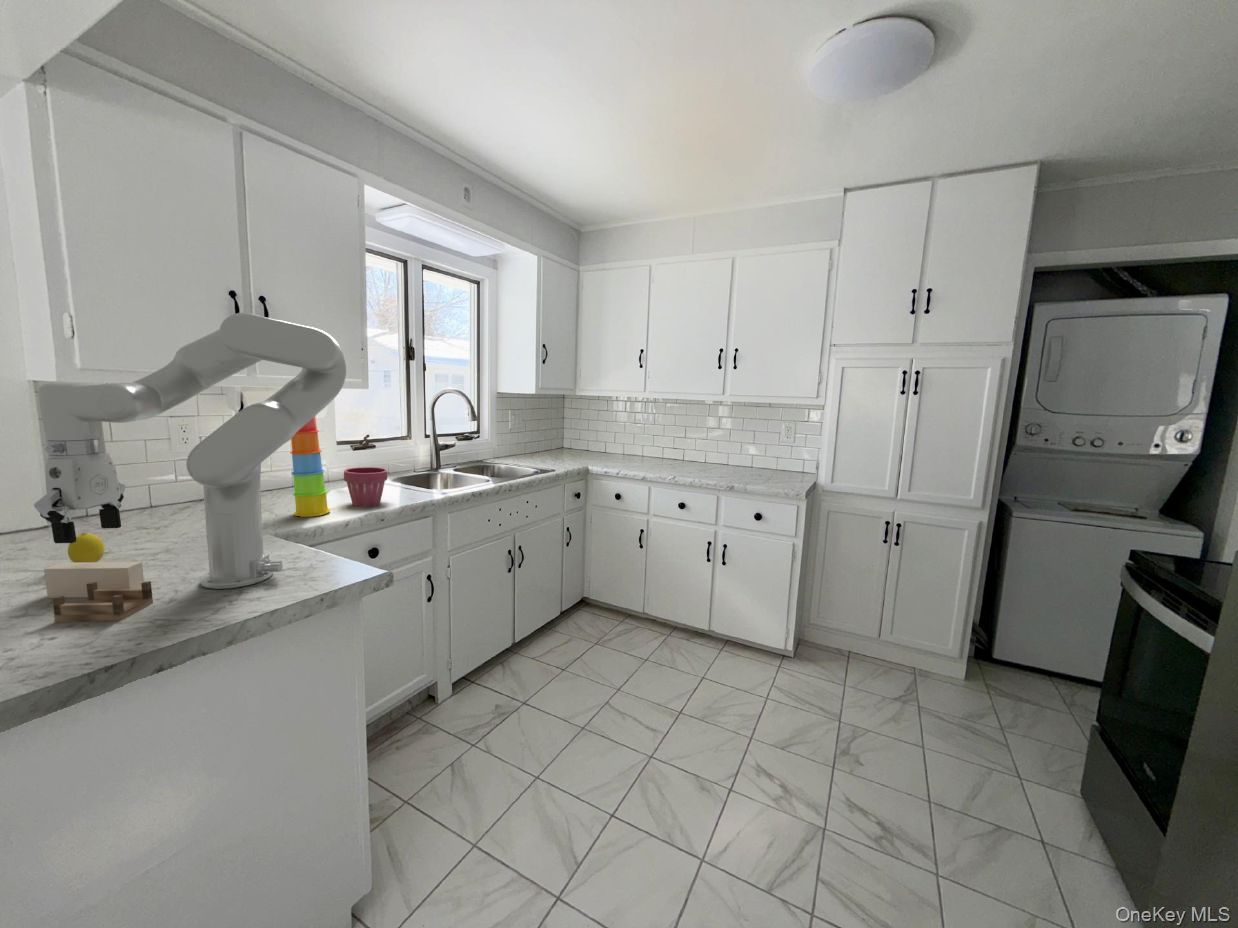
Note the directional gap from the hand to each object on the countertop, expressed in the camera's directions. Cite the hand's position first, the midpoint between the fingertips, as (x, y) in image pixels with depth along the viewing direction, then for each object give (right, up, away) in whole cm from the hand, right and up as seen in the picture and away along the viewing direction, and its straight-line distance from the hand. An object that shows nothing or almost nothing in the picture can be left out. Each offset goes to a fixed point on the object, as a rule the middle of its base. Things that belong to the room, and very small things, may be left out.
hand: (89, 534), depth 95 cm
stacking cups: (+2, -3, +67) cm, 67 cm away
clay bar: (0, -12, +2) cm, 12 cm away
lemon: (-16, -10, +14) cm, 23 cm away
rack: (+10, -13, -6) cm, 17 cm away
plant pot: (+11, -1, +83) cm, 84 cm away
